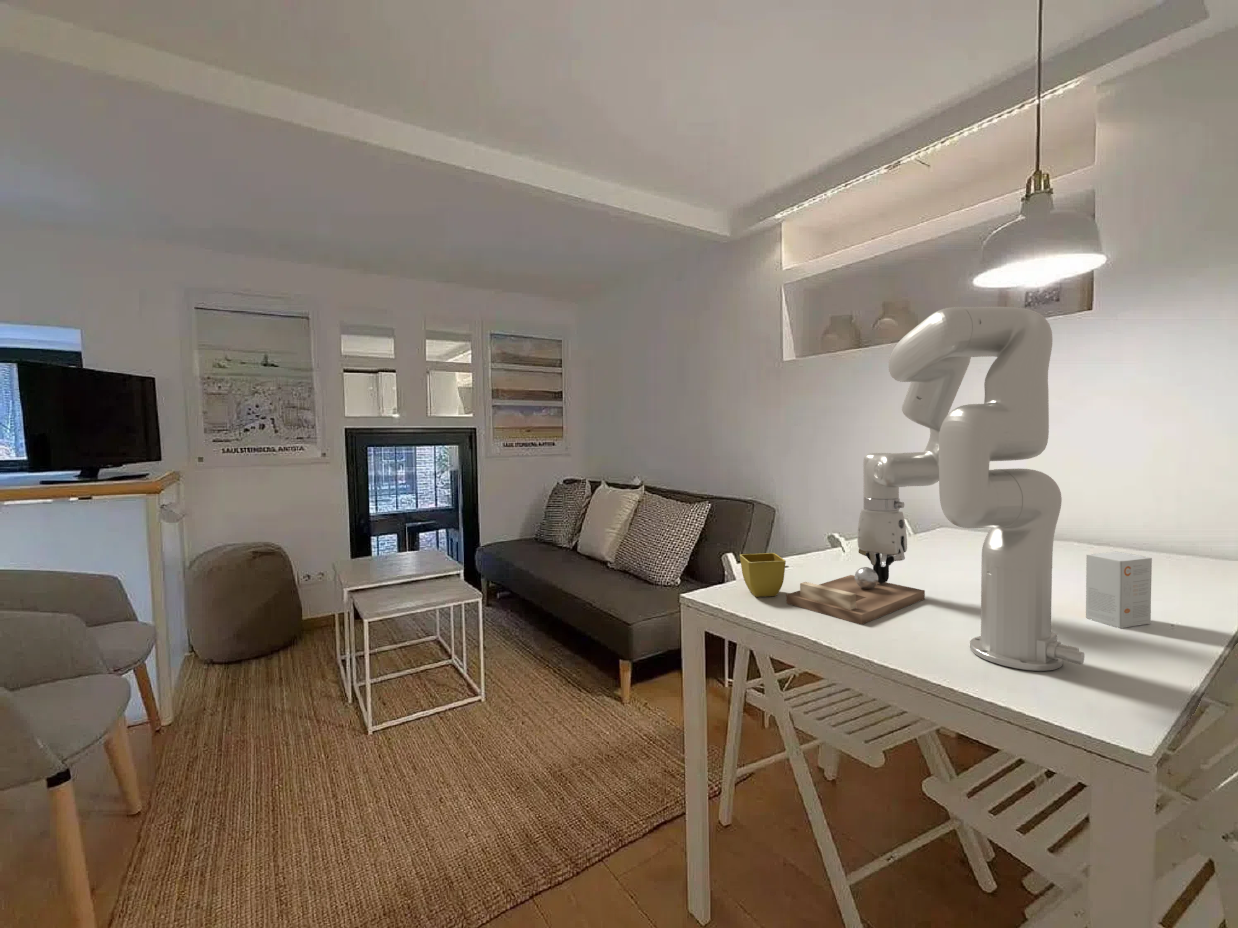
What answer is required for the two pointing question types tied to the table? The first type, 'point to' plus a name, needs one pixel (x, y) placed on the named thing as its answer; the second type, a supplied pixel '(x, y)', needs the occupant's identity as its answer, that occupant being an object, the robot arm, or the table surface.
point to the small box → (1118, 589)
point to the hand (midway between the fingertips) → (880, 581)
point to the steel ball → (866, 578)
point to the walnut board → (863, 600)
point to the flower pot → (763, 573)
